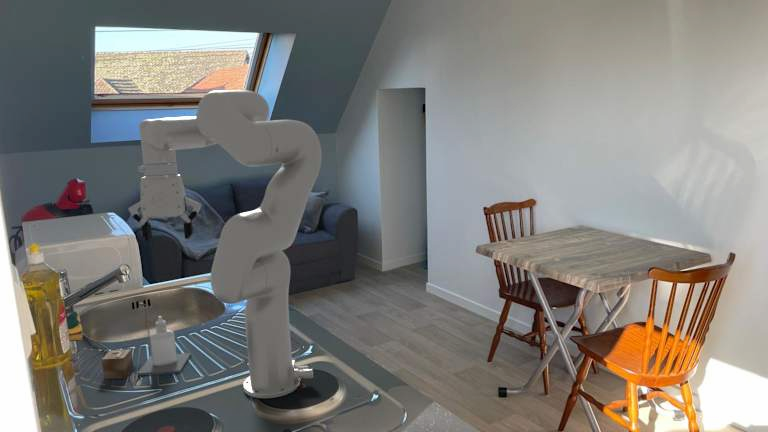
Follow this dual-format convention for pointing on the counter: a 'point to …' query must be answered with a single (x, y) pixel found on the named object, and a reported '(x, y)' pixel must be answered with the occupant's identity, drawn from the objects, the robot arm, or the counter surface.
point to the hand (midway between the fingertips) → (168, 238)
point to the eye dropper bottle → (163, 344)
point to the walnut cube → (117, 364)
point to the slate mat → (164, 366)
